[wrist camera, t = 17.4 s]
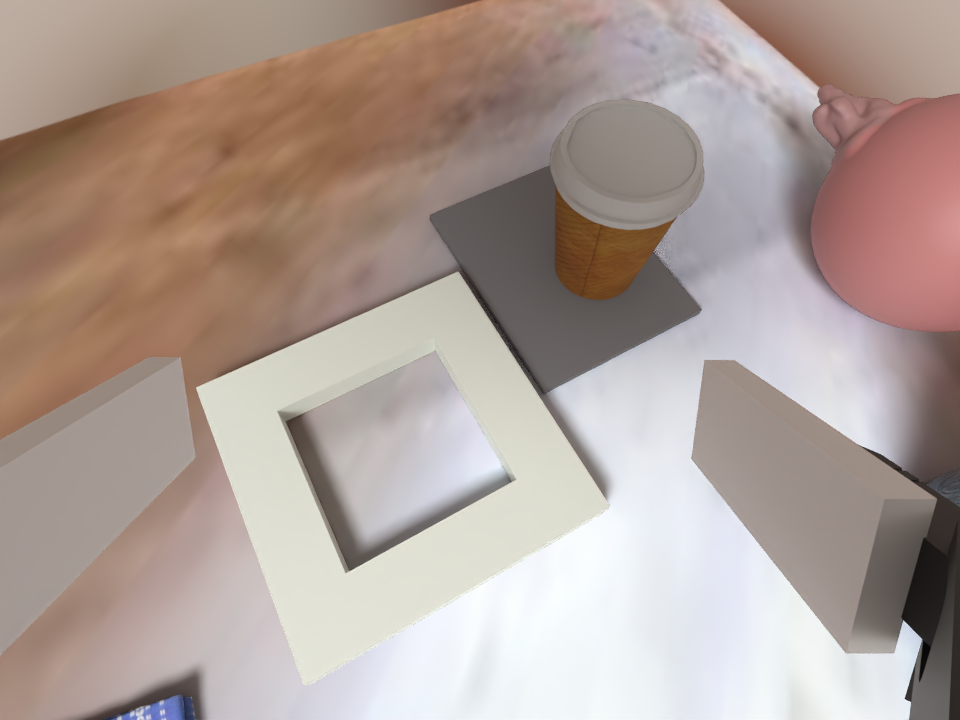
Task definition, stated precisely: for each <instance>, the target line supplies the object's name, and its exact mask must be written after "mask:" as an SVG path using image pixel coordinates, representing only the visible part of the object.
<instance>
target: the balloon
mask: <svg viewBox="0 0 960 720" xmlns="http://www.w3.org/2000/svg"><path fill="white" fill-rule="evenodd" d="M817 95H818V98H819V102H820V104H821V105H820V106H819V107H817V108H816V109H815V110H814V112H813V115H812V117H813V123H814V126H815V127H816V129H817V130H818V132H819V133H820V134H821V135H822V136H823V137H824V138H825V139H826V140H827V141H828V142H829V143H830V144H831V145H832V146H833V147H834V149H835V155H834V157H833V161H832V168H831V170H830V171H829V173H828V174H827V176H826V178H825V180H824V182H823V184H822V186H821V188H820V190H819V193H818V195H817V198H816V201H815V205H814V209H813V214H812V221H811V239H812V247H813V251H814V255H815V258H816V261H817V264H818V266H819V268H820V271H821V272H822V274H823V276H824V278H825V279H826V281H827V282H828V284H829V285H830V286H831V288H832V289H833V290H834V291H835V292H836V293H837V294H838V295H839V296H840V297H841V298H842V299H843V300H844V301H845V302H847V303H848V304H849V305H850V306H852V307H853V308H855V309H856V310H858V311H859V312H861V313H863V314H865V315H866V316H868V317H871V318H873V319H875V320H877V321H880V322H882V323H885V324H888V325H892V326H895V327H900V328H904V329H909V330H916V331H926V332H949V331H960V94H953V95H948V96H943V97H939V98H912V99H909V100H906V101H903V102H902V103H900V104H897V105H896V104H893V103H891V102H889V101H888V100H885V99H880V98H869V97H855V96H853V95H851V94H847V93H846V92H844V91H843V90H841V89H836V88H835V87H834V86H833V85H831V84H826V85H824V86H822V87H821V88H820V89H819V91H818V93H817Z"/></svg>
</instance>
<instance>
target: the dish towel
mask: <svg viewBox="0 0 960 720" xmlns="http://www.w3.org/2000/svg"><path fill="white" fill-rule="evenodd" d="M103 720H196V716H195V712H194V707H193V700H192V697H191V696H189V697H183V698H182V695H181V694H178V695H175V696H172V697H170V698H168V699H165V700H160V701H158V702H155V703H153V704H149V705H146V706H141V707H138V708H135V709H133V710H130V711H128V712H126V713H122V714H117V715H115V716H112V717H109V718H106V719H103Z"/></svg>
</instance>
